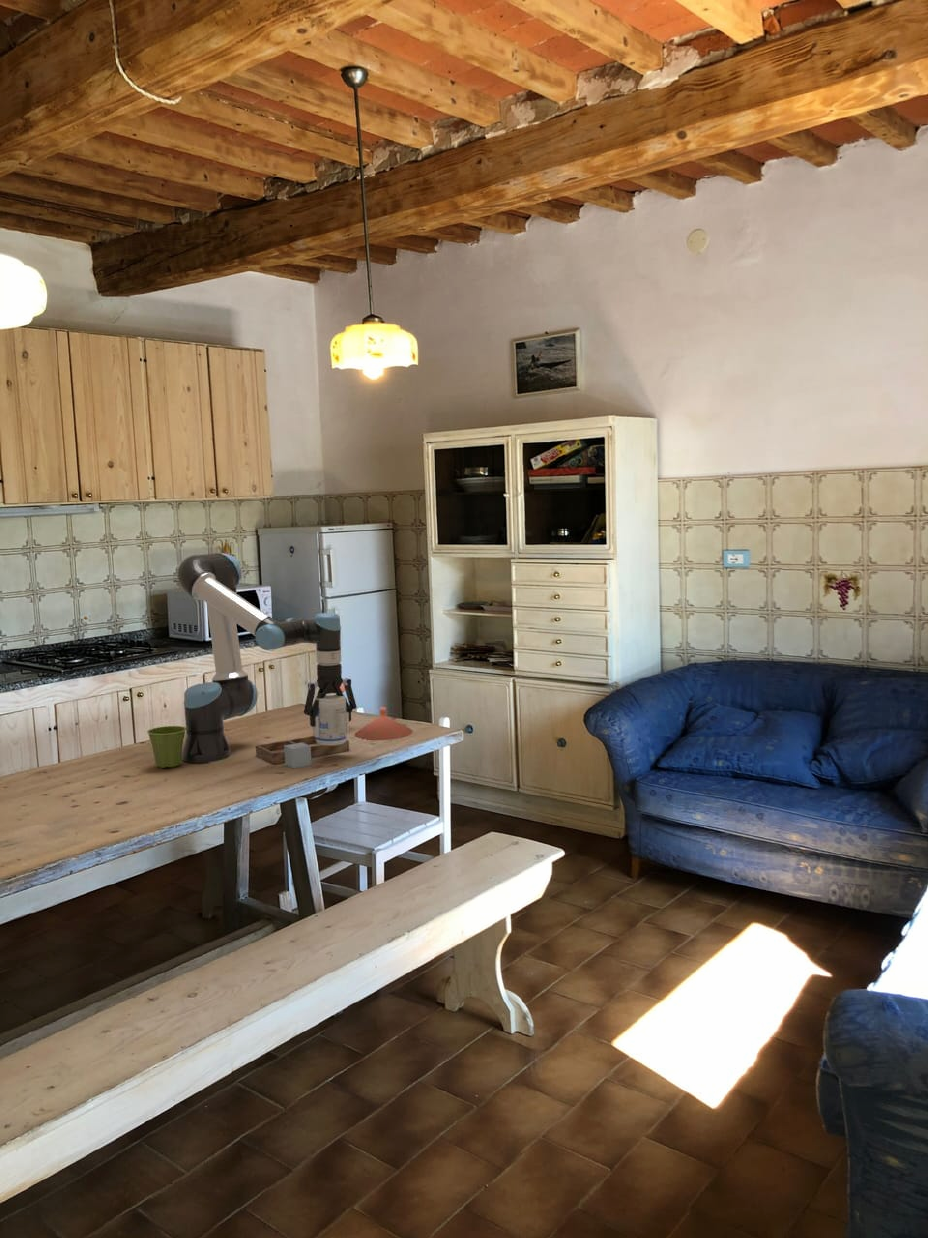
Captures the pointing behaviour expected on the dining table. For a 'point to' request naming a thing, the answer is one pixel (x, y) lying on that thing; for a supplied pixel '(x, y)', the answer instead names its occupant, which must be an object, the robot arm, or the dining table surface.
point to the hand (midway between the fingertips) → (331, 734)
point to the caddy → (276, 749)
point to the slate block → (297, 755)
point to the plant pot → (167, 745)
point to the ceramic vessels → (382, 727)
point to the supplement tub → (332, 720)
